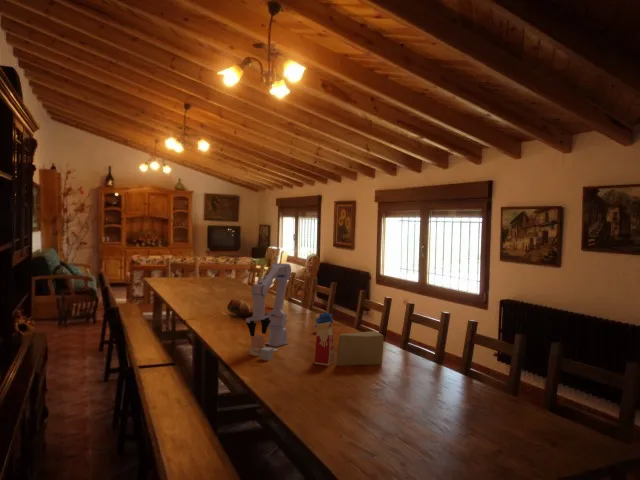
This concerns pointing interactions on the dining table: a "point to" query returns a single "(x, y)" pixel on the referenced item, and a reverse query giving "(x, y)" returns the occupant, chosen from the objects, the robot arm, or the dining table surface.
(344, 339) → the cheese
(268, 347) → the tile
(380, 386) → the dining table surface
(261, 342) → the terracotta block
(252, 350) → the birch base block
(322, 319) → the grapes
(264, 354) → the grey painted block
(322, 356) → the milk carton
